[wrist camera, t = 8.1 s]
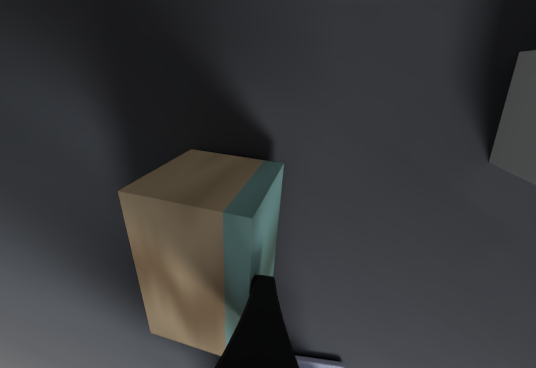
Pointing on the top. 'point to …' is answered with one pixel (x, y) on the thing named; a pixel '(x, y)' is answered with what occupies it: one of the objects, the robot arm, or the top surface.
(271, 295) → the robot arm
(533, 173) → the grey block
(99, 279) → the top surface
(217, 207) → the oak block
